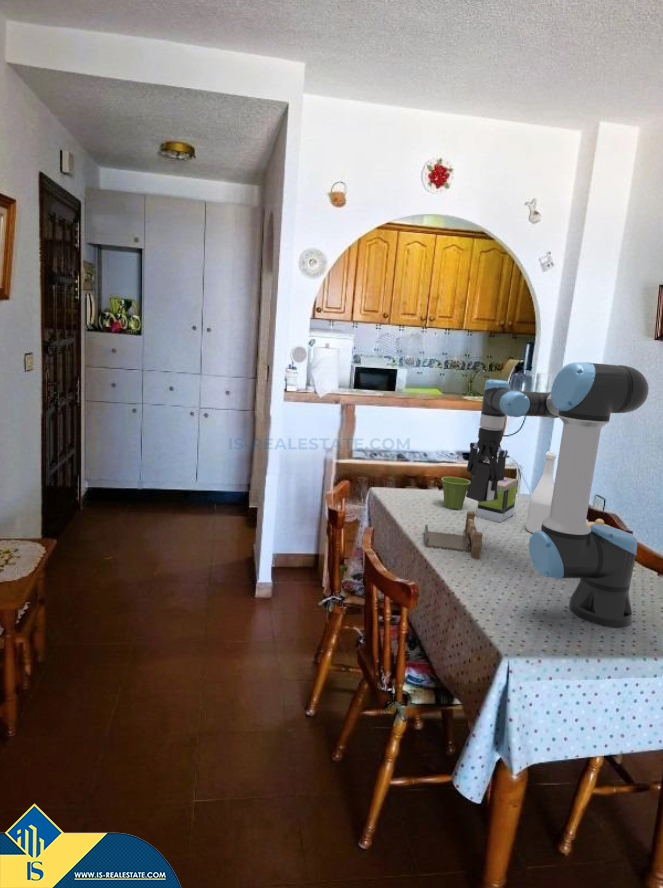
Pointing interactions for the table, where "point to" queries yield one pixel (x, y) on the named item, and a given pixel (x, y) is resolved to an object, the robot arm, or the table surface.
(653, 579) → the table surface
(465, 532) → the keeper plate
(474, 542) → the door pull handle
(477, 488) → the phone stand
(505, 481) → the tea box
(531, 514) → the wine bottle
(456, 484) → the plant pot
